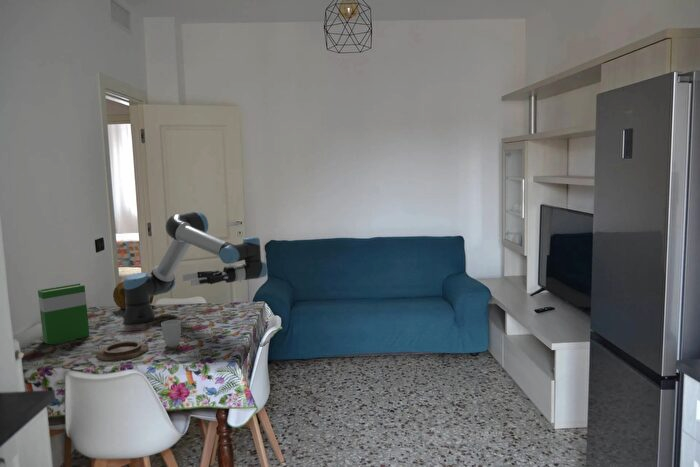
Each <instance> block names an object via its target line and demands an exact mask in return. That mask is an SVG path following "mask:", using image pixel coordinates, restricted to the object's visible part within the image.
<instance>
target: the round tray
mask: <svg viewBox="0 0 700 467" xmlns="http://www.w3.org/2000/svg"><path fill="white" fill-rule="evenodd" d="M148 351H149V345H148V344H147V343H143V342H140V341H137V340H135V341H132V340H129V341H119V342H116V343H112V344H109V345H107V346H105V347H104V348H102V349H100V350H99V351H98V352H96V358H97V359H98V360H99V361H104V362H118V361H124V360H130V359H133V358H137V357H139V356H142V355H143V354H146V353H147V352H148Z"/></svg>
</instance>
